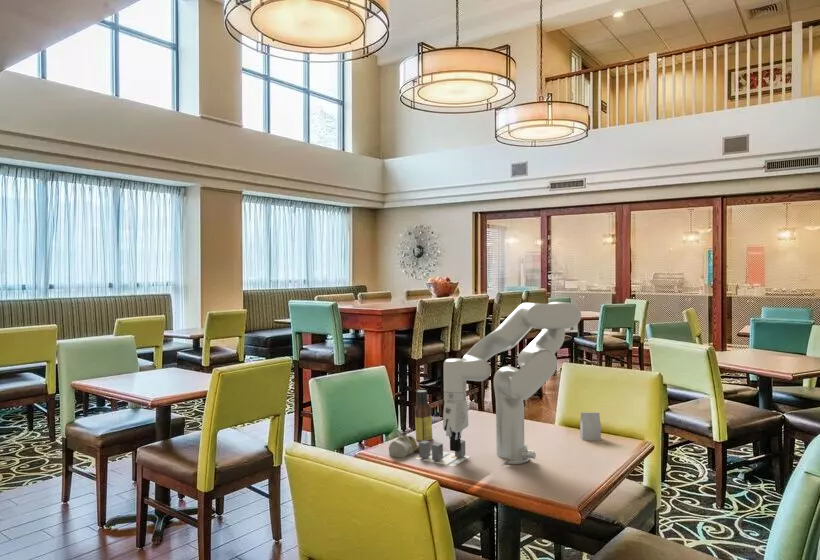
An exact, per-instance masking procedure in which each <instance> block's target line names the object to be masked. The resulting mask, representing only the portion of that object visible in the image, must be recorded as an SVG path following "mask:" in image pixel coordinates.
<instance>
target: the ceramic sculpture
mask: <svg viewBox="0 0 820 560" xmlns="http://www.w3.org/2000/svg"><path fill="white" fill-rule="evenodd" d="M397 437H398V438H397V439H396V440H392V441H391V442H390V444H389V446H388V452H389V453H388V454H389V455H390V456H391V457H395V458H402V459H403V458H406V457H407V456H409V455H411V454H414V453H415V454H416V453H419V444H417V442H416V441H417V440H416V438H415V437H414V436H413V435H409V434H407V433H406V432H402V433H401V434H399V435H398V436H397Z"/></svg>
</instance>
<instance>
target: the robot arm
mask: <svg viewBox="0 0 820 560" xmlns="http://www.w3.org/2000/svg"><path fill="white" fill-rule="evenodd" d="M581 319H582V311H581V310H580V308H579V306H578V305H576V304H574V303H573V302H564V301H557V300H556V301H551V302H548V303H537V302H527V301H526V302H522V303H521V304H519V305H518V306H517V307H516V308H515V309H514V310H513V311H512V312H511V313H510V314H509V315H507V318H505V320H503V321H502V323H500V324H499V326H498V327H496V329H494V330H493V331H492V332H490V333H488V334H487V335H485V337H483V338H481V339H480V340H478V342H476V343H474V345H472V347H471V348H470V349H468V351H467V352H466V353H465V354H464V355H463V357H462V358H456V357H455V358H454V357H453V358H452V357H451V358H447V359H445V360H444V362H443V401H444V402H443V412H442V413H443V414H442V428H443V431H445V436H446V437H448V439H449V451H452V452H455V451H456V452H458V451H460V450H461V440H462V432H463V430H465V429H467V428H468V427H469V410H468V402H467V381H471V382H472V381H473V382H482V381H486V380H488V378H490V376H491V374H492V368H491V365H490V364H489V361H488V360H490V359H491V358H492V357H494V356H496V355H497V354H499V353H502V352H506V351H509V350H512V349H513V348H515V346H517V344H518V343H520V342H521V340H522V339H523V338H524V337H525V336H526V335H527V334H528V333H529V332H530V331H531V330H532V328H533V329H536V330H541V331H540V332H539V334H537V336H536V337H535V338H534V339H533V340H532V341H531V342H529V343H528V345H527V346H525V347H524V348H523V349H522V350H521V351H520V353H519V354H518V357H517V364H518V366H519V368H516V367H514V366H511V365H510V366H509V365H507V366H502V367H500V368H499V369H498V370H496V372H495V373H494V376H493V391H494V395H495V423H496V424H495V427H496V429H495V433H496V434H495V435H496V436H495V439H496V440H495V441H496V443H495V444H496V448H495V449H496V456H497V457H499V458H502V459H505V460H506V459H507V460H506V461H505V462H503V464H505V465H521V464H526V463H527V462H529V461H530V459H533V460H535V459H536V457H537V454H536V451H535V450H529V449H528V445H525V403H524V400H527V399H529V398H532V396H534V395H535V394H536V393H537V391H539V390H540V388H542V386H543V385H545V383H546V382H548V381H549V379H551V377H552V376H554V374H555V372H556V370H557V367H558V359H557V356H556V353H557V351H559V349H560V348H562V346H563V345H564V341H565V339H566V338H565V337H566V336H565V335H566V329H571V328H573V327H576V326H577V325H578V324H579V323H580V321H581Z"/></svg>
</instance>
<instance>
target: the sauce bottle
mask: <svg viewBox="0 0 820 560" xmlns="http://www.w3.org/2000/svg"><path fill="white" fill-rule="evenodd" d="M416 399H417V401H416V405H415V406H414V421H415V422H414V423H415V441H418V442H422V441H424V440H425V441H430V442H431V441H433V423H432V421H433V420H432V411H431V408H432V407H430V405H429V403H428V402H429V401H428V390H426V389H418V390H416Z"/></svg>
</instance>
